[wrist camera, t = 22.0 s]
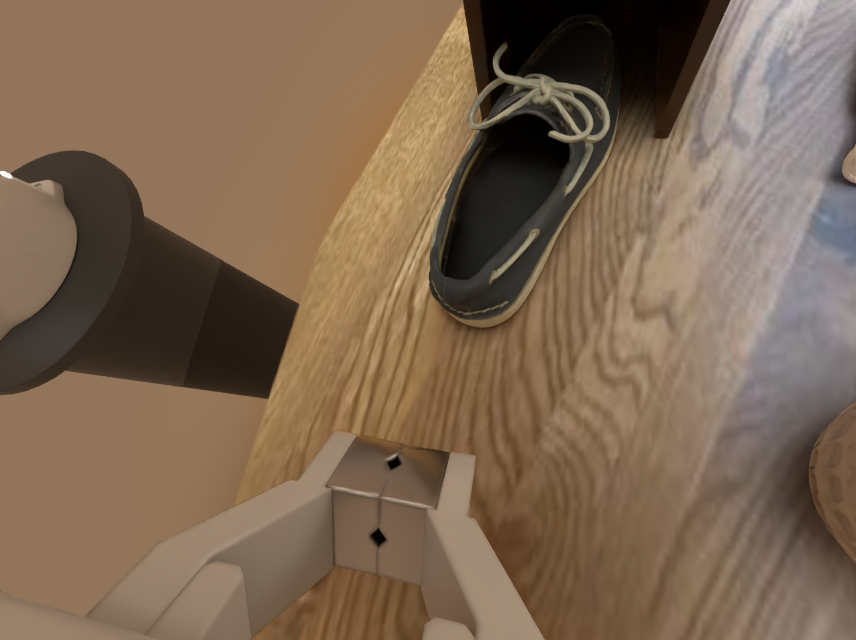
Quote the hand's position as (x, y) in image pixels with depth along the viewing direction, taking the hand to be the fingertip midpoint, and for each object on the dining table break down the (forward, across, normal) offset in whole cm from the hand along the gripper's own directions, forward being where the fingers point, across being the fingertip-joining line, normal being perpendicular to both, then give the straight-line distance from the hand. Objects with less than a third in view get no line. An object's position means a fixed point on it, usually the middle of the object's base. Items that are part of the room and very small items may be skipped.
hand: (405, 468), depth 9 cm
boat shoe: (+29, -2, -6) cm, 29 cm away
